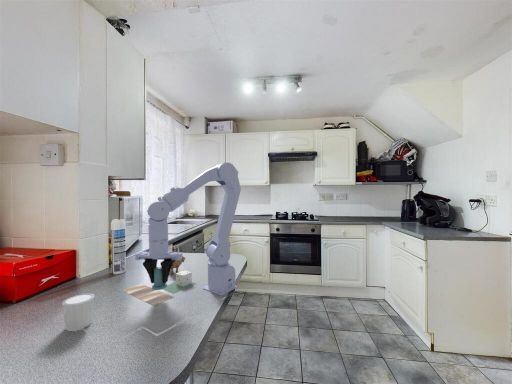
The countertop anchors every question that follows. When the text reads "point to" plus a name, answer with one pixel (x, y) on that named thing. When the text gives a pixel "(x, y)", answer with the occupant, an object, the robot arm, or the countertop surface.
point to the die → (183, 278)
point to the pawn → (158, 279)
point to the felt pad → (177, 287)
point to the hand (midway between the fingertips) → (159, 282)
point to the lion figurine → (177, 265)
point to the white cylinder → (78, 311)
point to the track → (148, 294)
